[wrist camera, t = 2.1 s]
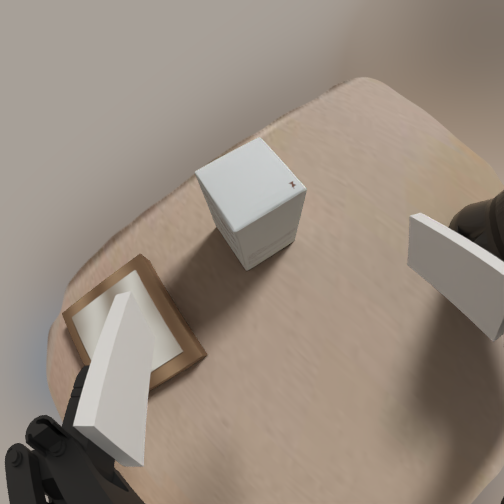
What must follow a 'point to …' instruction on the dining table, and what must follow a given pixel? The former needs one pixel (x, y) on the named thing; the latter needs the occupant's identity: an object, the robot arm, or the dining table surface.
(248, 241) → the supplement box
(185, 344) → the picture frame
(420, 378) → the dining table surface
